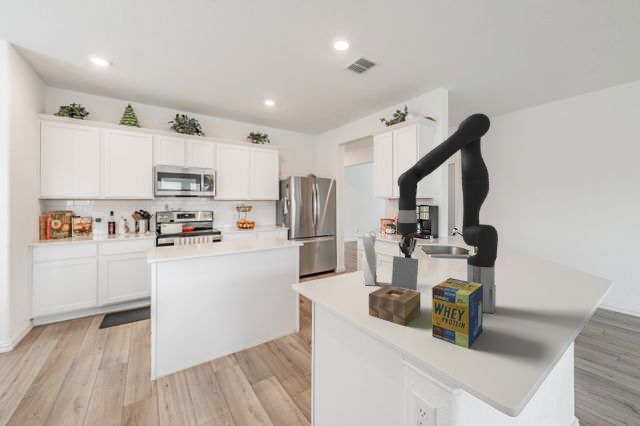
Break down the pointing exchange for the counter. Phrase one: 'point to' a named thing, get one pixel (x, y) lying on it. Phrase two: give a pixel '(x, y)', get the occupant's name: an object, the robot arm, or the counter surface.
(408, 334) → the counter surface
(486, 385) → the counter surface
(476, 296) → the protein box
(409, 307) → the hole block
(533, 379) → the counter surface
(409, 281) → the panel
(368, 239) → the skyscraper
